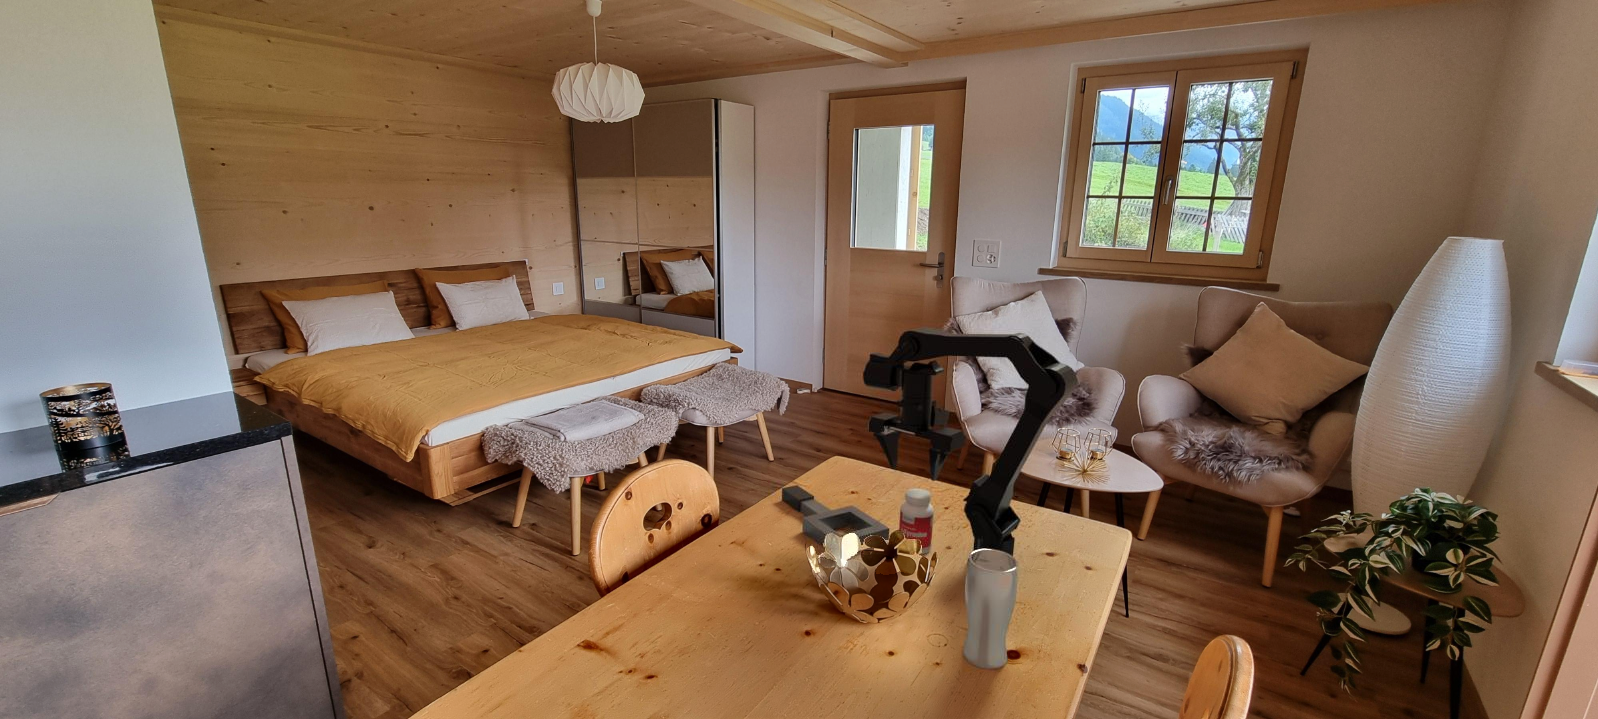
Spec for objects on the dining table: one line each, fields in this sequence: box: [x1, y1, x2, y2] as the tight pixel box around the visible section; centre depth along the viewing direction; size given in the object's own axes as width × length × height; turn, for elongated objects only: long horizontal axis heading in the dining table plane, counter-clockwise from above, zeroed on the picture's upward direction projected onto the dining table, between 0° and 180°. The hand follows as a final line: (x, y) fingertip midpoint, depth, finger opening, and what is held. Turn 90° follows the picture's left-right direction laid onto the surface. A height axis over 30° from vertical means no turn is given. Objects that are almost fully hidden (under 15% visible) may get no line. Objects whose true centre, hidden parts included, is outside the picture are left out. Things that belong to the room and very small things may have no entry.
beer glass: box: [962, 549, 1019, 670], centre depth 97 cm, size 7×7×15 cm
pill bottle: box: [898, 488, 935, 555], centre depth 129 cm, size 6×6×11 cm
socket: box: [781, 484, 890, 548], centre depth 140 cm, size 27×12×3 cm, turn 32°
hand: (913, 474), depth 132 cm, fingers open, 9 cm apart
